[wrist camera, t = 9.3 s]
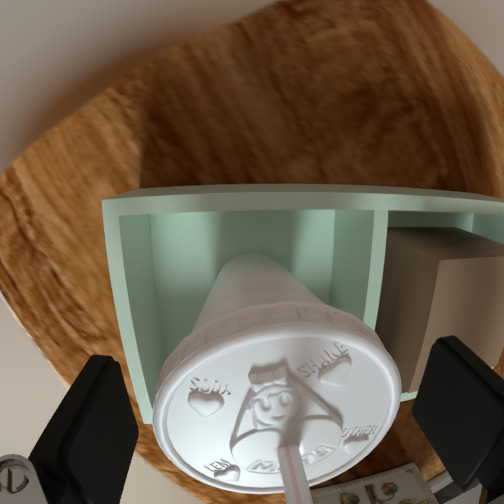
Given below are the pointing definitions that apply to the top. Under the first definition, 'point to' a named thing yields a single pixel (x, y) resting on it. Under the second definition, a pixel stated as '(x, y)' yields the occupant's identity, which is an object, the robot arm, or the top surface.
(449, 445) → the robot arm
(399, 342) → the walnut block
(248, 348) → the white cup
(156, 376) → the tote
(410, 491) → the decorative jar
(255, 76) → the top surface
